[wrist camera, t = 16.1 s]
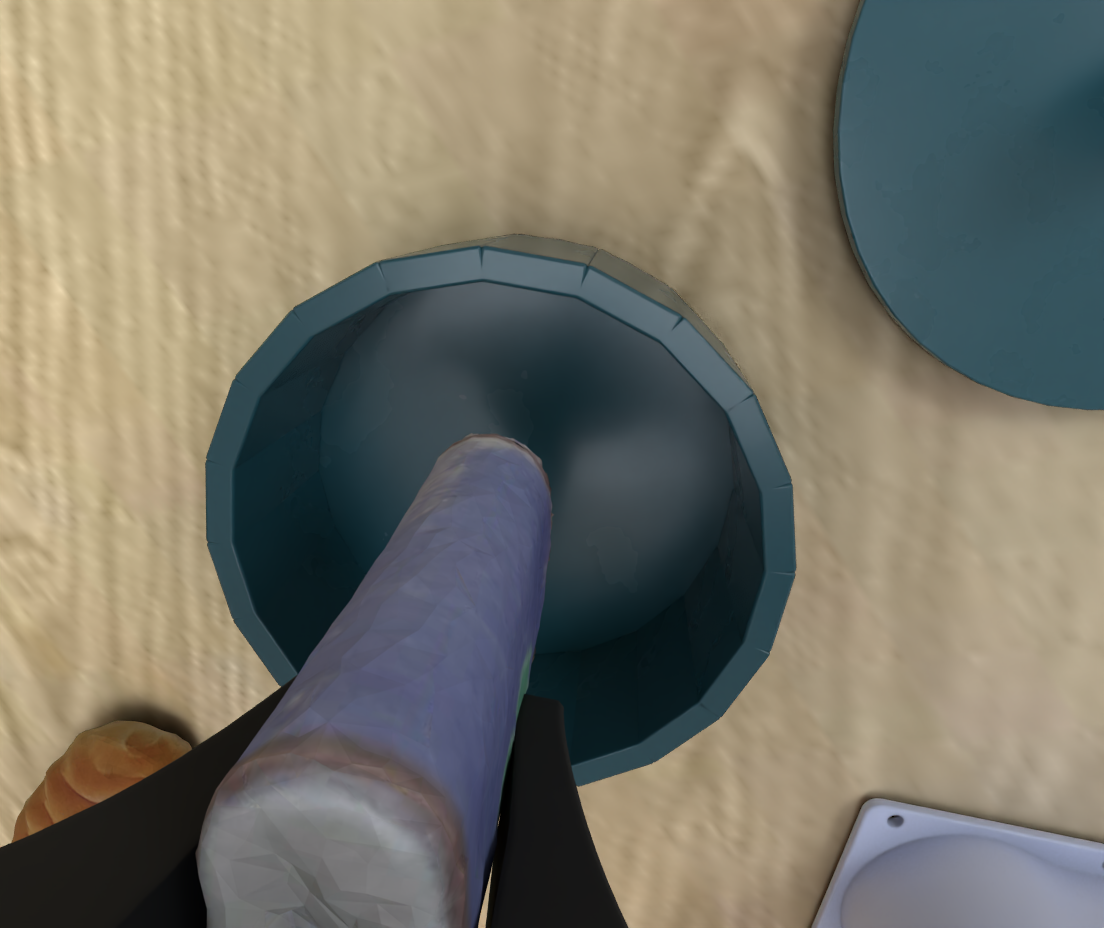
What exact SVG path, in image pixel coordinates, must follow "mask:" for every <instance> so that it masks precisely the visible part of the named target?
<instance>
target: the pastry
mask: <svg viewBox="0 0 1104 928" xmlns="http://www.w3.org/2000/svg"><path fill="white" fill-rule="evenodd" d="M190 750H192V748H191V746H190V744H189V743H188V742H187V741H184V740H183V739H181V738H180V737H179V736H178V735H176V734H173V733H169V732H165V731H162V730H160V729H157V728H155V727H153V726H151V725H148V724H145V723H142V722H136V721H114V722H111V723H109V724H107V725H104V726H101V727H98V728H94V729H91V730H87V731H84V732H82V733H80V734H79V735H78V736H77V737H76V739H75V740H74V742H73V743H72V744H71V745H70V746H69V748H68V749H67V751H66V753H65V754H64V755H63V756H62V757H61V758H59V759H58V760H57V761H55V762H54V763H53V764H52V765H51V766H50V767H49V769H48V770H47V772H46V776H45V778H44V780H43V781H42V783H41V784H40V785H39V787H38V788H37V789H36V790H35V792H34V793H33V794H32V795H31V796H30V798H29V799H28V800H27V801H26V802H25V805H24V808H23V810H22V811H21V813H20V814H19V816H18V818H17V821H16V825H15V831H14V837H13V840H12V843H13V842H15V841H18V840H20V839H22V838H25V837H27V836H29V835H32V834H34V833H36V832H38V831H40V830H42V829H44V828H47V827H49V826H51V825H53V824H55V823H57V822H59V821H61V820H64V819H66V818H68V817H70V816H72V815H74V814H76V813H78V812H80V811H83V810H85V809H87V808H89V807H91V806H93V805H95V804H97V803H100V802H102V801H103V800H105V799H107V798H109V797H111V796H113V795H115V794H117V793H119V792H121V791H122V790H124V789H126V788H128V787H130V786H132V785H133V784H135V783H137V782H139V781H141V780H142V779H144V778H146V777H148V776H149V775H151V774H153V773H155V772H156V771H158V770H160V769H161V768H163V767H165V766H166V765H168V764H170V763H171V762H173V761H175V760H176V759H178V758H179V757H181V756H182V755H184V754H186V753H187V752H189V751H190Z"/></svg>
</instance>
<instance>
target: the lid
mask: <svg viewBox="0 0 1104 928" xmlns="http://www.w3.org/2000/svg"><path fill="white" fill-rule="evenodd" d="M833 145H834V174H835V181H836V187H837V193H838V198H839V204H840V210H841V216H842V219H843V222H844V225H845V228H846V231H847V235H848V238H849V241H850V244H851V247H852V251H853V253H854V255H855V257H856V259H857V261H858V263H859V265H860V267H861V270H862V272H863V274H864V276H865V278H866V280H867V282H868V284H869V286H870V287H871V289H872V290H873V292H874V293H875V295H876V296H877V297H878V299H879V300H880V302H881V303H882V305H883V306H884V308H885V309H886V311H887V312H888V314H889V315H890V316H891V317H892V318H893V319H894V320H895V321H896V322H897V323H898V325H899V326H900V327H901V328H902V329H903V330H904V331H905V332H906V333H907V334H908V335H909V336H910V337H911V339H912V340H913V341H915V342H916V343H917V344H918V345H920V346H921V347H922V348H924V349H925V350H926V351H927V352H929V353H930V354H931V355H932V356H934V357H935V358H936V359H937V360H939V361H940V362H941V363H943V364H945V365H947V366H948V367H950V368H952V369H954V370H955V371H957V372H959V373H961V374H962V375H964V376H966V377H967V378H969V379H971V380H973V381H975V382H977V383H979V384H981V385H984V386H986V387H989V388H991V389H994V390H996V391H999V392H1001V393H1004V394H1006V395H1009V396H1011V397H1015V398H1019V399H1023V400H1027V401H1031V402H1035V403H1039V404H1043V405H1047V406H1056V407H1064V408H1073V409H1082V410H1104V0H860V3H859V6H858V9H857V12H856V15H855V18H854V21H853V24H852V27H851V30H850V33H849V36H848V39H847V43H846V47H845V52H844V57H843V62H842V66H841V71H840V76H839V81H838V85H837V94H836V105H835V116H834V127H833Z"/></svg>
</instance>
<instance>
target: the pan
mask: <svg viewBox="0 0 1104 928" xmlns="http://www.w3.org/2000/svg"><path fill="white" fill-rule="evenodd" d="M471 433H472V434H499V435H501V436H503V437H505V438H506V437H507V438H514V439H515V440H517V441H518V442H520V443H521V444H525V445H526V446H527V447H528V448H529V449H530V450H531V451H532V452H533V453H534V454H535V455H536V456H538V457H539V458H540V459H541V460H542V467H543V470H544V471H545V473H547V476H548V479H549V482H550V484H549V485H550V487H551V502H552V510H551V512H552V513H553V514H554V515H553V516H552V529H551V536H550V539H551V551H550V555H549V557H550V561H548V566H547V571H546V585H545V597H544V603H543V608H542V613H541V619H540V627H539V631H538V635H537V639H536V644H535V648H536V653H535V654H534V656H535V657H534V659H533V662H532V663H531V670H530V677H529V684H528V689H527V691H526V694H529V695H534V696H539V697H544V698H549V699H554V700H559V702H560V703H561V704H562V706H563V707H564V727H565V735H566V741H567V747H568V752H569V758H570V763H571V767H572V772H573V776H574V780H575V783H576V786H578V787H579V786H583V785H586V784H589V783H592V782H595V781H598V780H602V779H605V778H608V777H611V776H614V775H617V774H621V773H624V772H627V771H630V770H633V769H636V768H640V767H643V766H646V765H649V764H652V763H653V762H656V761H658V760H659V759H661V758H662V757H664V756H665V755H667V754H668V753H670V752H671V751H673V750H674V749H675V748H677V747H678V746H680V745H681V744H683V743H684V742H686V741H687V740H689V739H690V738H692V737H693V736H695V735H696V734H698V733H699V732H701V731H702V730H704V729H705V728H707V727H708V726H710V725H711V724H713V723H714V722H716V721H717V720H718V719H719V718H720V717H722V716H723V714H724V713H725V712H726V711H727V709H728V708H729V707H730V705H731V704H732V703H733V701H734V700H735V699H736V698H737V696H738V695H739V694H740V692H741V691H742V690H743V689H744V687H745V686H746V685H747V683H748V682H749V681H750V680H751V678H752V677H753V676H754V674H755V673H756V672H757V671H758V669H759V668H760V667H761V665H762V664H763V663H764V661H765V660H766V659H767V658H768V656H769V655H770V651H771V649H772V646H773V643H774V640H775V637H776V634H777V631H778V628H779V624H780V621H781V618H782V615H783V612H784V609H785V606H786V603H787V600H788V597H789V594H790V591H791V587H792V584H793V581H794V578H795V571H796V547H795V525H794V503H793V485H792V484H791V481H792V479H791V477H790V475H789V472H788V470H787V468H786V465H785V463H784V461H783V458H782V456H781V453H780V451H779V449H778V446H777V444H776V442H775V439H774V437H773V435H772V432H771V430H770V427H769V425H768V423H767V420H766V418H765V416H764V413H763V411H762V409H761V406H760V404H759V402H758V399H757V397H756V395H755V393H754V392H753V390H752V389H751V387H750V385H749V384H748V382H747V381H746V379H745V378H744V376H743V374H742V373H741V371H740V370H739V368H738V367H737V365H736V363H735V362H734V360H733V359H732V357H731V356H730V354H729V352H728V351H727V349H726V348H725V346H724V345H723V344H722V342H721V341H720V340H719V339H718V338H717V337H716V336H715V335H714V334H713V333H712V332H711V330H710V329H709V328H708V327H707V326H706V325H705V324H704V322H703V321H702V320H701V319H700V318H699V317H698V316H697V315H696V314H695V313H694V311H693V310H692V309H691V308H690V307H689V306H688V305H687V304H686V303H685V302H684V301H683V300H682V299H681V298H680V296H679V295H678V294H677V293H676V292H675V291H674V290H673V289H672V288H670V287H669V286H668V285H666V284H664V283H662V282H661V281H659V280H657V279H655V278H654V277H653V276H651V275H649V274H648V273H646V272H644V271H642V270H640V269H639V268H637V267H635V266H633V265H632V264H630V263H628V262H626V261H625V260H623V259H620V258H618V257H615V256H613V255H611V254H610V253H608V252H606V251H604V250H602V249H599V250H598V248H596V247H593V246H587V245H581V244H577V243H573V242H569V241H565V240H561V239H552V238H543V237H536V236H530V235H525V234H518V235H517V234H510V235H504V236H497V237H491V238H485V239H478V240H472V241H466V242H460V243H453V244H447V245H441V246H437V247H433V248H429V249H425V250H421V251H417V252H413V253H409V254H405V255H401V256H396V257H392V258H388V259H384V260H381V261H378V262H375V263H373V264H371V265H369V266H367V267H366V268H364V269H362V270H360V271H358V272H357V273H355V274H353V275H351V276H349V277H348V278H346V279H344V280H342V281H340V282H338V283H337V284H335V285H333V286H331V287H329V288H328V289H326V290H324V291H322V292H320V293H319V294H317V295H315V296H313V297H311V298H310V299H308V300H306V301H304V302H302V303H301V304H299V305H297V306H295V307H294V308H293V310H291V311H290V312H289V313H288V314H287V315H286V316H285V318H284V319H283V320H282V321H281V322H280V323H279V325H278V326H277V327H276V328H275V329H274V331H273V332H272V333H271V334H270V335H269V337H268V338H267V339H266V340H265V341H264V342H263V344H262V345H261V346H260V347H259V348H258V350H257V351H256V352H255V353H254V354H253V355H252V357H251V358H250V359H249V360H248V361H247V363H246V364H245V365H244V366H243V367H242V368H241V370H240V371H239V372H238V373H237V374H236V377H235V379H234V380H233V381H232V384H231V387H230V390H229V393H228V396H227V399H226V401H225V404H224V407H223V410H222V413H221V416H220V419H219V422H218V424H217V427H216V430H215V433H214V436H213V439H212V442H211V444H210V447H209V450H208V453H207V456H206V459H207V460H206V463H205V468H206V539H207V541H208V543H207V546H208V549H209V552H210V555H211V558H212V560H213V563H214V566H215V569H216V572H217V575H218V578H219V581H220V584H221V587H222V590H223V592H224V595H225V598H226V601H227V604H228V607H229V610H230V613H231V616H232V618H233V619H234V620H233V621H234V623H235V624H236V626H237V627H238V628H239V630H240V631H241V633H242V634H243V635H244V637H245V638H246V640H247V641H248V642H249V644H250V645H251V647H252V648H253V649H254V651H255V652H256V654H257V655H258V656H259V658H260V659H261V661H262V662H263V663H264V665H265V666H266V668H267V669H268V671H269V672H270V673H271V675H272V676H273V678H274V679H275V680H276V682H277V683H278V685H279V686H281V687H282V686H283V685H285V684H286V683H287V682H289V681H290V680H291V679H292V678H294V677H295V676H296V675H298V674H299V672H300V671H301V669H302V667H303V666H304V664H305V663H306V661H307V659H308V657H309V656H310V654H311V653H312V652H313V650H314V649H315V648H316V646H317V645H318V644H319V642H320V641H321V640H322V638H323V637H324V636H325V634H326V633H327V631H328V629H329V628H330V626H331V625H332V623H333V622H334V621H335V619H336V618H337V617H338V616H339V614H340V613H341V612H342V610H343V609H344V608H345V607H346V605H347V604H348V603H349V601H350V600H351V599H352V597H353V595H354V594H355V592H356V590H357V589H358V587H359V585H360V584H361V582H362V581H363V579H364V578H365V576H366V574H367V573H368V571H369V570H370V568H371V567H372V565H373V564H374V562H375V560H376V559H377V558H378V557H379V555H380V554H381V553H382V552H383V550H384V549H385V547H386V546H387V544H388V542H389V540H390V539H391V537H392V535H393V534H394V532H395V530H396V528H397V527H398V525H399V523H400V522H401V520H402V518H403V517H404V515H405V513H406V512H407V510H408V509H409V507H410V506H411V504H412V503H413V501H414V500H415V498H416V496H417V494H418V492H419V490H420V488H421V487H422V485H423V484H424V482H425V481H426V479H427V477H428V476H429V474H430V473H431V471H432V469H433V467H434V465H435V463H436V461H437V459H438V457H439V456H441V454H442V453H443V452H444V451H446V450H447V449H448V448H449V447H450V446H451V445H452V444H453V443H456V442H458V441H460V440H462V439H463V438H464V437H465V436H467V435H469V434H471ZM515 444H516V443H515ZM517 445H518V444H517ZM520 447H521V446H520ZM522 448H523V447H522Z"/></svg>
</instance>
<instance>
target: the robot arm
mask: <svg viewBox="0 0 1104 928" xmlns="http://www.w3.org/2000/svg"><path fill="white" fill-rule="evenodd" d="M296 677H297V675H296V676H295V677H294V678H292V679H291V680H290V681H289V682H287V683H286V684H285V685H283V686H282V687H281V688H279V689H278V690H277V691H275V692H274V693H273V694H271V695H270V696H269V697H267V698H266V699H265V700H263V701H262V702H260V703H259V704H258V705H256V706H255V707H253V708H252V709H251V710H249V711H248V712H246V713H245V714H244V715H242V716H241V717H239V718H238V719H237V720H235V721H234V722H232V723H231V724H230V725H228V726H227V727H225V728H224V729H222V730H221V731H219V732H218V733H216V734H215V735H213V736H212V737H210V738H209V739H207V740H206V741H204V742H203V743H201V744H199V745H198V746H196V747H195V748H193V749H192V750H190V751H189V752H187V753H186V754H184V755H182V756H181V757H179V758H178V759H176V760H175V761H173V762H171V763H170V764H168V765H166V766H165V767H163V768H161V769H160V770H158V771H156V772H155V773H153V774H151V775H149V776H148V777H146V778H144V779H142V780H141V781H139V782H137V783H135V784H133V785H132V786H130V787H128V788H126V789H124V790H122V791H121V792H119V793H117V794H115V795H113V796H111V797H109V798H107V799H105V800H103V801H102V802H100V803H97V804H95V805H93V806H91V807H89V808H87V809H85V810H83V811H80V812H78V813H76V814H74V815H72V816H70V817H68V818H66V819H64V820H61V821H59V822H57V823H55V824H53V825H51V826H49V827H47V828H44V829H42V830H40V831H38V832H36V833H34V834H32V835H29V836H27V837H25V838H22V839H20V840H18V841H15V842H13V843H10V844H8V845H6V846H3V847H1V848H0V928H207V907H206V903H205V899H204V895H203V891H202V888H201V884H200V880H199V875H198V868H197V860H196V850H197V848H198V845H199V840H200V835H201V830H202V825H203V822H204V819H205V815H206V812H207V809H208V807H209V804H210V802H211V800H212V797H213V795H214V793H215V790H216V789H217V787H218V786H219V784H220V783H221V782H222V780H223V779H224V778H225V776H226V775H227V773H228V772H229V771H230V770H231V768H232V767H233V766H234V765H235V764H236V763H237V761H238V760H239V759H240V757H241V756H242V754H243V753H244V752H245V750H246V749H247V747H248V746H249V744H250V743H251V742H252V740H253V739H254V737H255V736H256V735H257V733H258V732H259V730H260V729H261V727H262V726H263V725H264V723H265V722H266V721H267V719H268V718H269V717H270V715H271V714H272V712H273V711H274V710H275V708H276V707H277V705H278V704H279V702H280V701H281V699H282V698H283V696H284V695H285V693H286V692H287V690H288V689H289V687H290V686H291V684H292V683H293V681H294V680H295V678H296ZM893 815H897V816H896V817H893V818H889V817H890V816H893ZM486 928H628V926H627V924H626V922H625V919H624V917H623V915H622V913H621V911H620V909H619V906H618V904H617V902H616V899H615V897H614V895H613V892H612V890H611V888H610V885H609V883H608V881H607V878H606V876H605V873H604V870H603V868H602V865H601V863H600V860H599V857H598V855H597V852H596V849H595V846H594V843H593V840H592V837H591V834H590V831H589V828H588V825H587V822H586V819H585V816H584V812H583V809H582V806H581V802H580V798H579V795H578V791H577V787H576V783H575V780H574V776H573V772H572V767H571V763H570V758H569V752H568V747H567V741H566V735H565V727H564V707H563V706H562V704H561V703H560V702H559V700H554V699H549V698H544V697H539V696H534V695H529V694H524V696H523V699H522V702H521V706H520V710H519V714H518V718H517V723H516V730H515V741H514V747H513V752H512V758H511V764H510V770H509V776H508V781H507V787H506V791H505V796H504V801H503V805H502V809H501V813H500V819H499V824H498V834H497V845H496V850H495V854H494V859H493V866H492V875H491V884H490V893H489V902H488V911H487V920H486ZM811 928H1104V844H1103V843H1098V842H1093V841H1088V840H1084V839H1079V838H1074V837H1069V836H1064V835H1059V834H1054V833H1049V832H1044V831H1039V830H1034V829H1029V828H1025V827H1020V826H1015V825H1010V824H1005V823H1000V822H995V821H990V820H985V819H980V818H975V817H970V816H966V815H961V814H956V813H951V812H946V811H941V810H936V809H931V808H926V807H921V806H916V805H911V804H907V803H902V802H897V801H892V800H887V799H882V798H874V799H870V800H868V801H867V802H865V803H864V805H863V806H862V808H861V810H860V812H859V815H858V817H857V820H856V822H855V824H854V827H853V829H852V832H851V834H850V836H849V839H848V841H847V844H846V846H845V848H844V851H843V853H842V856H841V858H840V860H839V863H838V865H837V868H836V870H835V872H834V875H833V877H832V879H831V882H830V884H829V887H828V889H827V891H826V894H825V896H824V899H823V901H822V903H821V906H820V908H819V911H818V913H817V915H816V918H815V920H814V923H813V925H812V927H811Z"/></svg>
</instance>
